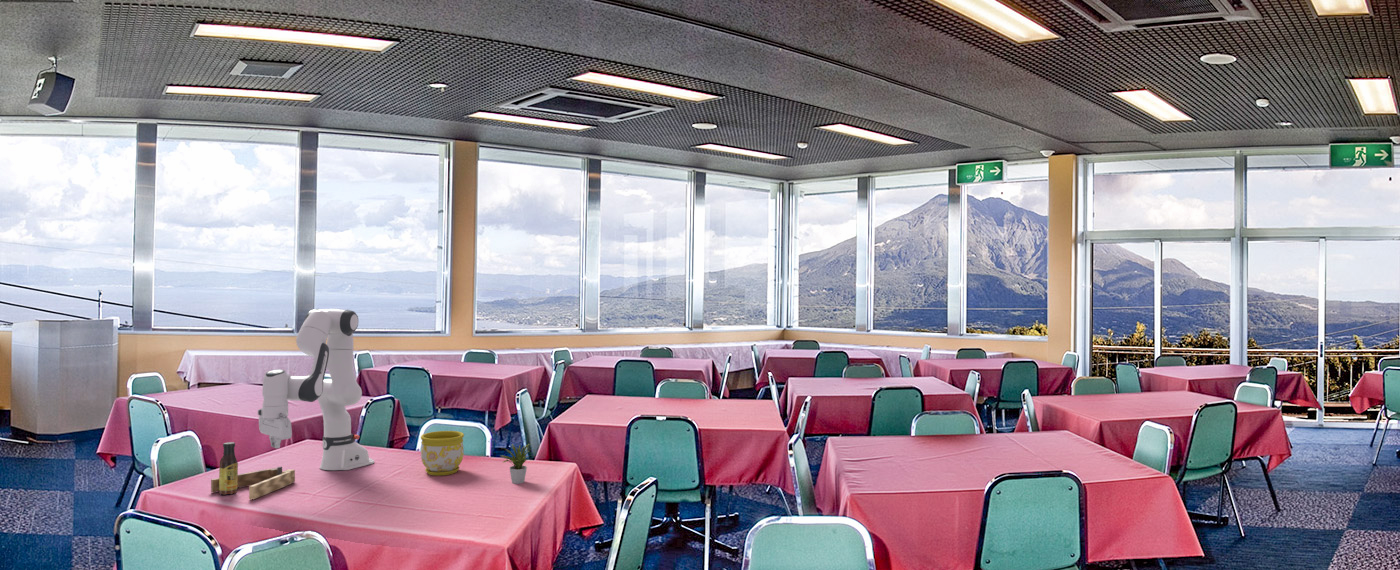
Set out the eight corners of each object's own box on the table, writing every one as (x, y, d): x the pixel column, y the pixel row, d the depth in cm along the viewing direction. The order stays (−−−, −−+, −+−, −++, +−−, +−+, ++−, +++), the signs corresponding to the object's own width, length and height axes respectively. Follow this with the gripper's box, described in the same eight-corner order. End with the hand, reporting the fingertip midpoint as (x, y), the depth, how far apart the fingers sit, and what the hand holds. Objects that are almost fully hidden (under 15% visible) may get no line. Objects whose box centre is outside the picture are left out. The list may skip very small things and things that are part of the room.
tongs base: (278, 479, 333) (278, 463, 333) (286, 482, 328) (286, 467, 328) (211, 492, 313) (211, 476, 313) (219, 496, 308) (219, 479, 308)
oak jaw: (288, 481, 330) (288, 469, 330) (296, 481, 329) (296, 469, 329) (244, 499, 304) (244, 486, 304) (253, 499, 304) (253, 486, 304)
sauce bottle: (228, 496, 309) (228, 445, 308) (215, 495, 310) (214, 444, 310) (241, 491, 315) (241, 441, 315) (228, 490, 317) (228, 441, 316)
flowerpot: (460, 465, 360) (460, 429, 360) (466, 474, 344) (467, 437, 344) (418, 469, 353) (418, 432, 352) (423, 479, 336) (423, 440, 336)
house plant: (513, 475, 344) (514, 437, 344) (541, 478, 339) (542, 440, 339) (494, 483, 330) (494, 444, 330) (523, 487, 326) (523, 447, 325)
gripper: (296, 414, 305) (296, 450, 305) (272, 408, 317) (272, 442, 318) (279, 416, 300) (279, 453, 300) (255, 410, 312) (255, 445, 313)
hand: (275, 447), depth 309 cm, fingers closed
